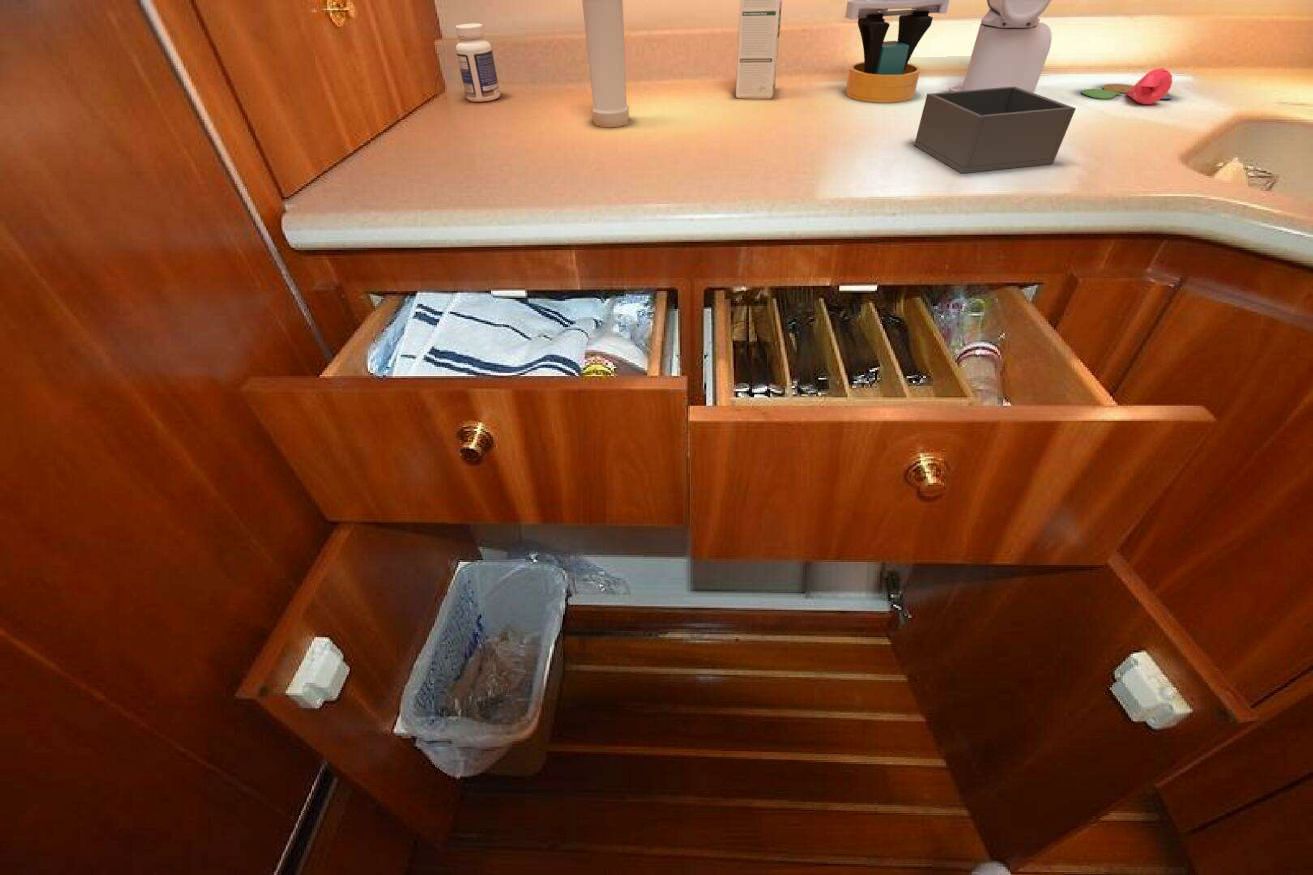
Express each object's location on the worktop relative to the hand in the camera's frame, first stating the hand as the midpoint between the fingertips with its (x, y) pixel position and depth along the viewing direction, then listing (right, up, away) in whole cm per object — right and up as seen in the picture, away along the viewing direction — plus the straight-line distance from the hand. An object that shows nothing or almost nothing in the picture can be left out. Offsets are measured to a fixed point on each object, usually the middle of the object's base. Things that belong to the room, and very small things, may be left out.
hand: (883, 74), depth 88 cm
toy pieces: (+35, -5, -3) cm, 35 cm away
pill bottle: (-62, 0, +7) cm, 62 cm away
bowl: (0, -2, +2) cm, 3 cm away
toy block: (0, -2, +1) cm, 2 cm away
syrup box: (-19, -1, +4) cm, 19 cm away
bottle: (-41, -10, -6) cm, 42 cm away
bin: (+4, -21, -19) cm, 29 cm away
